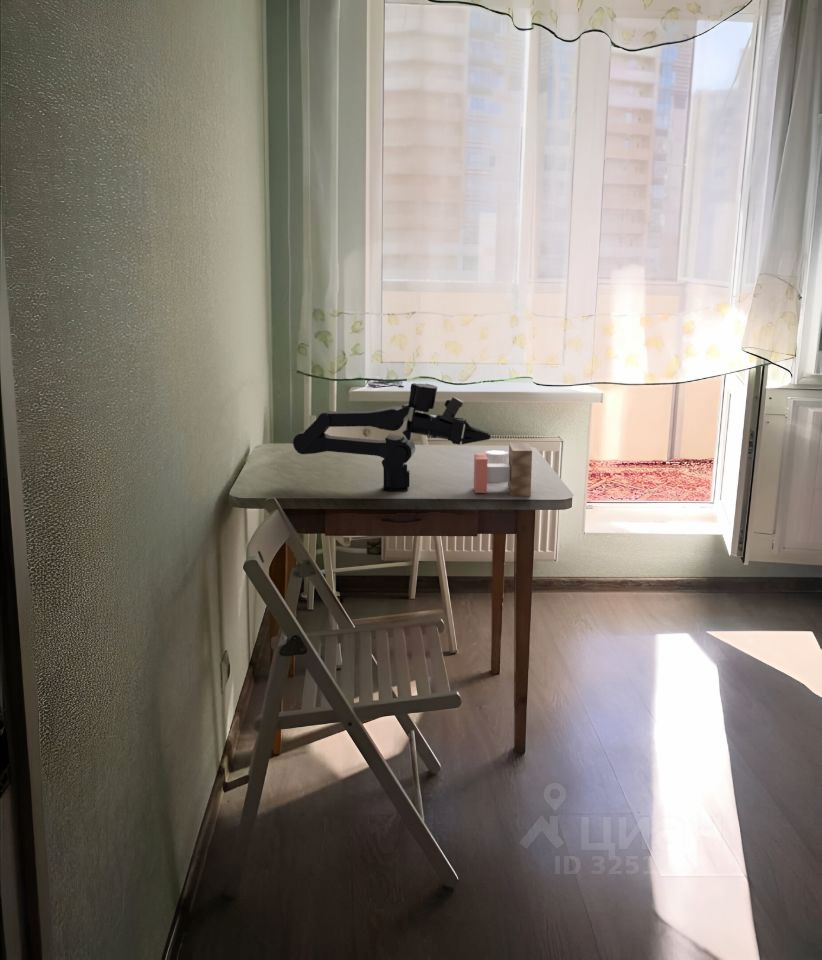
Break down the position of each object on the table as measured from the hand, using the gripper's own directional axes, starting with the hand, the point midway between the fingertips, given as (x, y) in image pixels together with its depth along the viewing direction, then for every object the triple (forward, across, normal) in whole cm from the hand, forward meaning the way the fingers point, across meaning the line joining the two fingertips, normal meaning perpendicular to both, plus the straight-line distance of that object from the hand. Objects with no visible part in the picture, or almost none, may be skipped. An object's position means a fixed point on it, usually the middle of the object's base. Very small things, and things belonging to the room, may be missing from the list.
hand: (489, 436), depth 241 cm
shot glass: (+5, +19, +12) cm, 23 cm away
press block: (+11, +2, +13) cm, 17 cm away
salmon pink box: (+3, +2, +14) cm, 14 cm away
